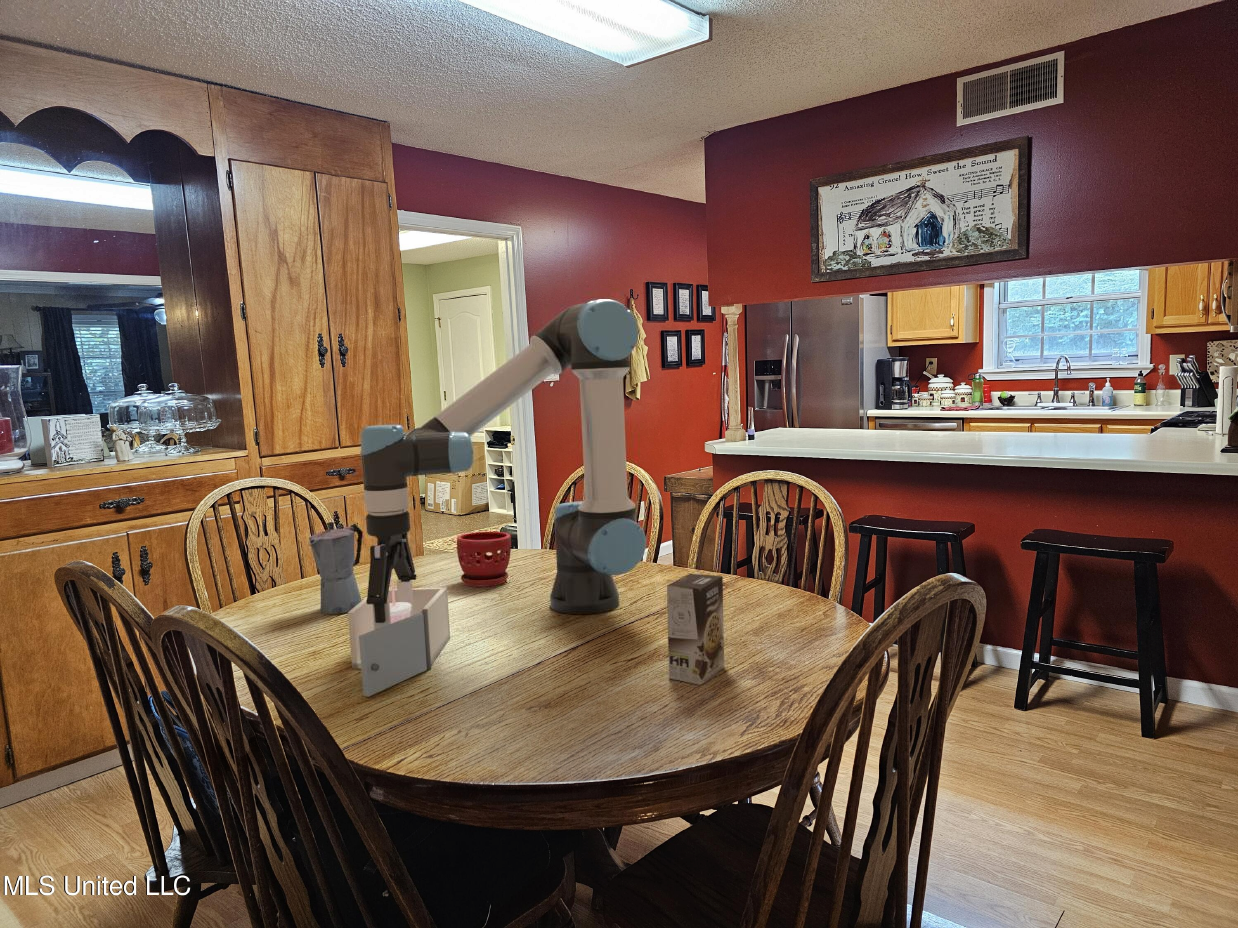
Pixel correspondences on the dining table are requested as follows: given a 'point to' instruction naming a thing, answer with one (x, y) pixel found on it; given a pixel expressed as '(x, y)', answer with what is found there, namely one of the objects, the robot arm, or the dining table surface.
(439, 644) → the cubby
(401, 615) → the beverage cup
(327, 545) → the moka pot
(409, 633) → the door
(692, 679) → the coffee box
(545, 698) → the dining table surface
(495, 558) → the plant pot
